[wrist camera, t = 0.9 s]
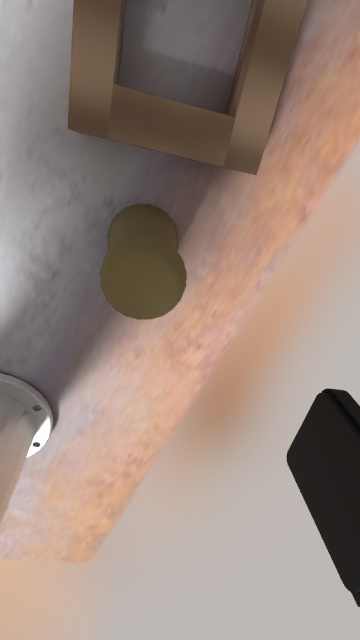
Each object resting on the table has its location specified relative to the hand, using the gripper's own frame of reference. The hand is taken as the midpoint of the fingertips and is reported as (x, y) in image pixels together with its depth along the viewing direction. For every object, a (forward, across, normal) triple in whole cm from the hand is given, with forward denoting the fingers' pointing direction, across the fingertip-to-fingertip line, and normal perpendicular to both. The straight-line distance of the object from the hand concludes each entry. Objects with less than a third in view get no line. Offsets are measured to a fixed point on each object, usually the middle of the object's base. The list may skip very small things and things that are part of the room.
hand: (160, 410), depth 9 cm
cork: (+21, 0, 0) cm, 21 cm away
